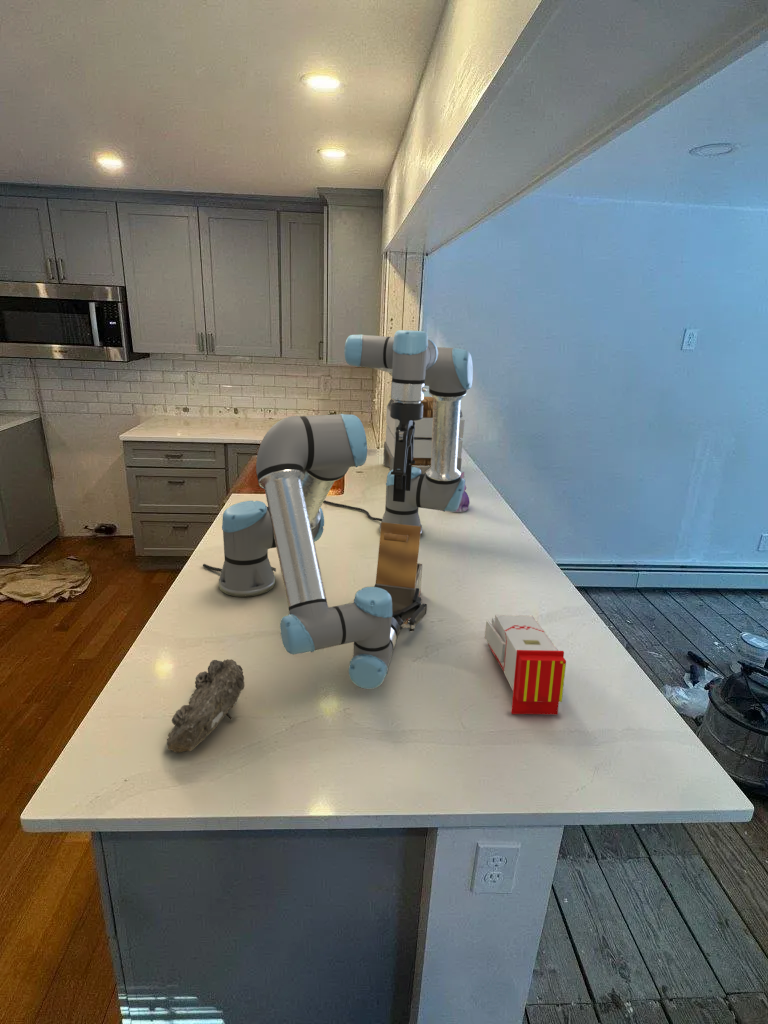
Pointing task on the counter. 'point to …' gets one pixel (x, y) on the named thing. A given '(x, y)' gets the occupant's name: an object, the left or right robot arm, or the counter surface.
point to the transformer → (417, 437)
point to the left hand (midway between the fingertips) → (397, 590)
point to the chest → (403, 592)
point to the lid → (398, 555)
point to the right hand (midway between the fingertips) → (401, 495)
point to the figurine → (463, 499)
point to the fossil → (206, 705)
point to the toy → (527, 663)
